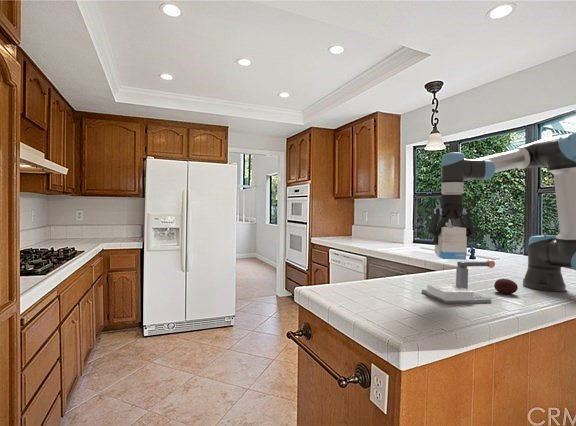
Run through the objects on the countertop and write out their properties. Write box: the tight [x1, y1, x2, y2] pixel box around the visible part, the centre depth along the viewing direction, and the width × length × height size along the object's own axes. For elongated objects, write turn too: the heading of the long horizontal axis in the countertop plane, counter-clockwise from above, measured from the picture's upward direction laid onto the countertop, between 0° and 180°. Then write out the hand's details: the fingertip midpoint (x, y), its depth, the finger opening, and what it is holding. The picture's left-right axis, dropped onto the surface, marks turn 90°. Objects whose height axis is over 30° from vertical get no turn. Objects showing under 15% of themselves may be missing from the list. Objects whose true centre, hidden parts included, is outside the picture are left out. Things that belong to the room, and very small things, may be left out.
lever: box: [456, 259, 496, 269], centre depth 135 cm, size 16×4×3 cm, turn 98°
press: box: [421, 266, 492, 305], centre depth 128 cm, size 18×16×10 cm
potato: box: [493, 278, 519, 295], centre depth 136 cm, size 7×8×6 cm
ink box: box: [435, 222, 467, 261], centre depth 125 cm, size 9×8×13 cm
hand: (450, 253), depth 126 cm, fingers closed on ink box, 10 cm apart
